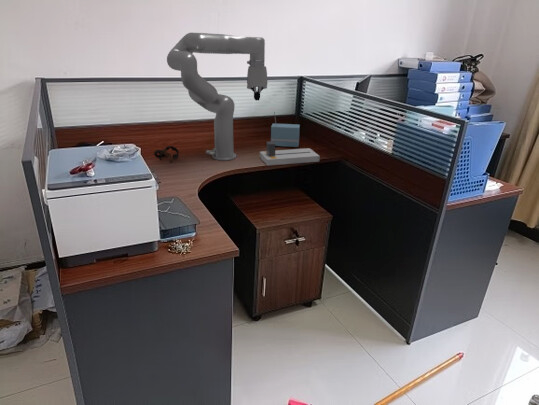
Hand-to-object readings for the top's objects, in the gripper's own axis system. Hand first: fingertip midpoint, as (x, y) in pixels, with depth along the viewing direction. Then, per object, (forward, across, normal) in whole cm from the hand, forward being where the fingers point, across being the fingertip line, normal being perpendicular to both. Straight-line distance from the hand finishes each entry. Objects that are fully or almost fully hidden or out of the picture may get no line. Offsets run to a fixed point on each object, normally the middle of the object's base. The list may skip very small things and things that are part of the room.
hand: (256, 99), depth 206 cm
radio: (+27, +18, +4) cm, 33 cm away
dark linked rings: (+27, -49, -9) cm, 57 cm away
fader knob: (+24, +2, -21) cm, 32 cm away
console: (+27, +12, -21) cm, 36 cm away
